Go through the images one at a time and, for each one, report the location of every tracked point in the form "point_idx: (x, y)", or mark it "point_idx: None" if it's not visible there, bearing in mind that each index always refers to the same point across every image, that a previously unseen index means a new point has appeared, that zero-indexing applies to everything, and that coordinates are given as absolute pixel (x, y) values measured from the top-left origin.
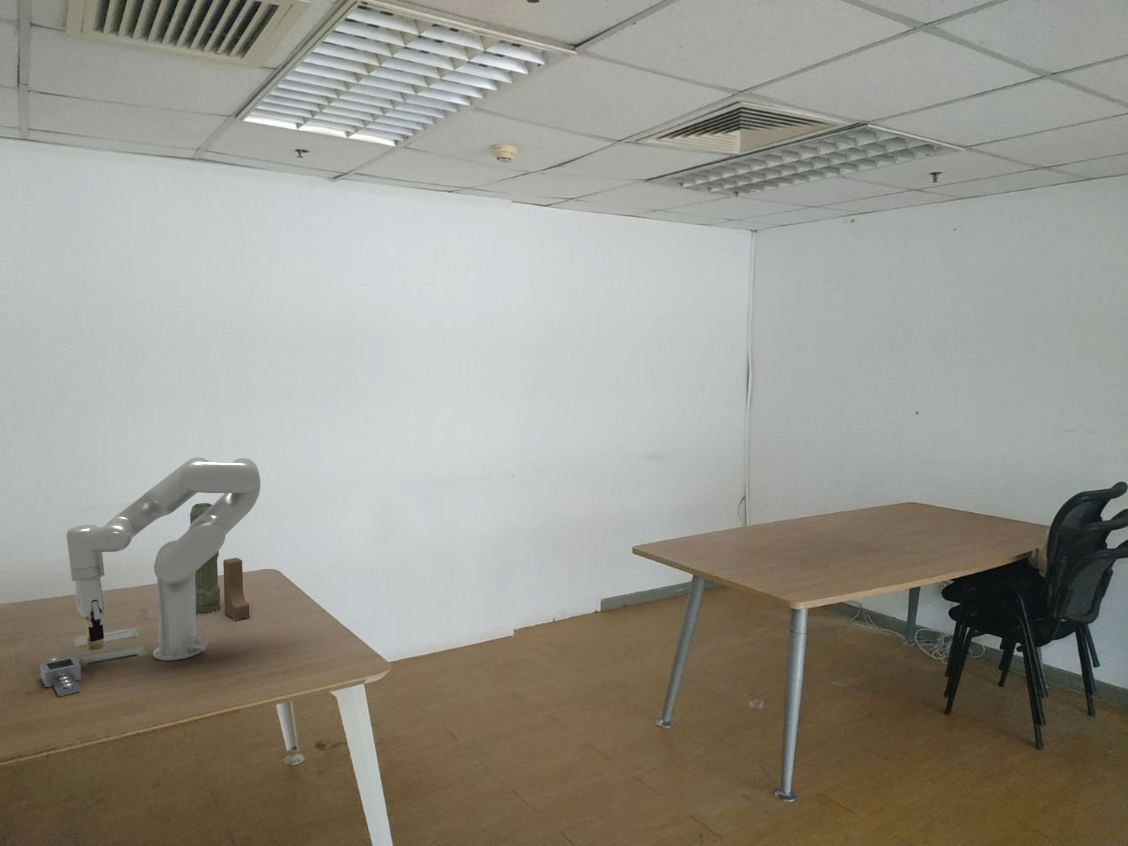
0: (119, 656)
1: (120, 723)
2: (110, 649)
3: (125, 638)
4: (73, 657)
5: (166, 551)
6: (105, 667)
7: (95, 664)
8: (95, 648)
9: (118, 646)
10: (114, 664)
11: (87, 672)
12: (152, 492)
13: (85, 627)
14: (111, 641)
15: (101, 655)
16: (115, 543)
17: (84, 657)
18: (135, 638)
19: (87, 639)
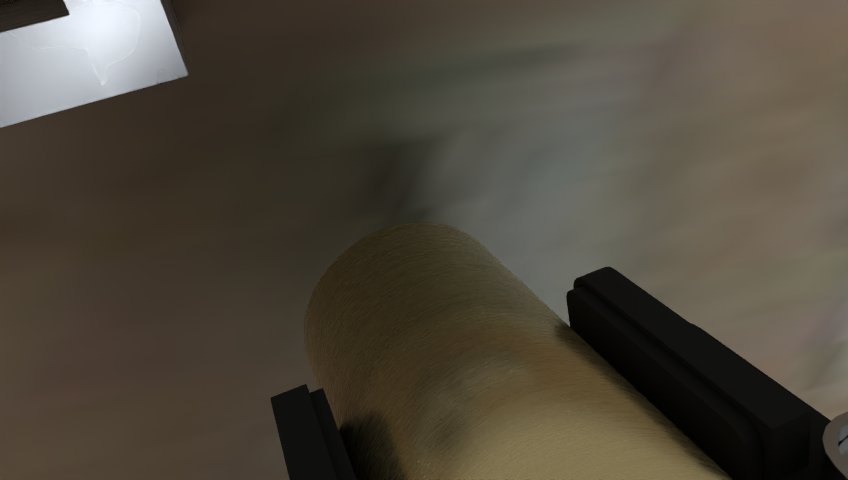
0: None
1: None
2: (670, 270)
3: (835, 327)
4: (129, 62)
5: None
6: (185, 325)
7: (327, 215)
8: (309, 345)
9: (701, 316)
10: (245, 384)
11: (76, 175)
12: None
13: (543, 461)
14: (844, 243)
15: (564, 226)
16: None
17: (598, 78)
18: (788, 390)
19: (406, 325)
